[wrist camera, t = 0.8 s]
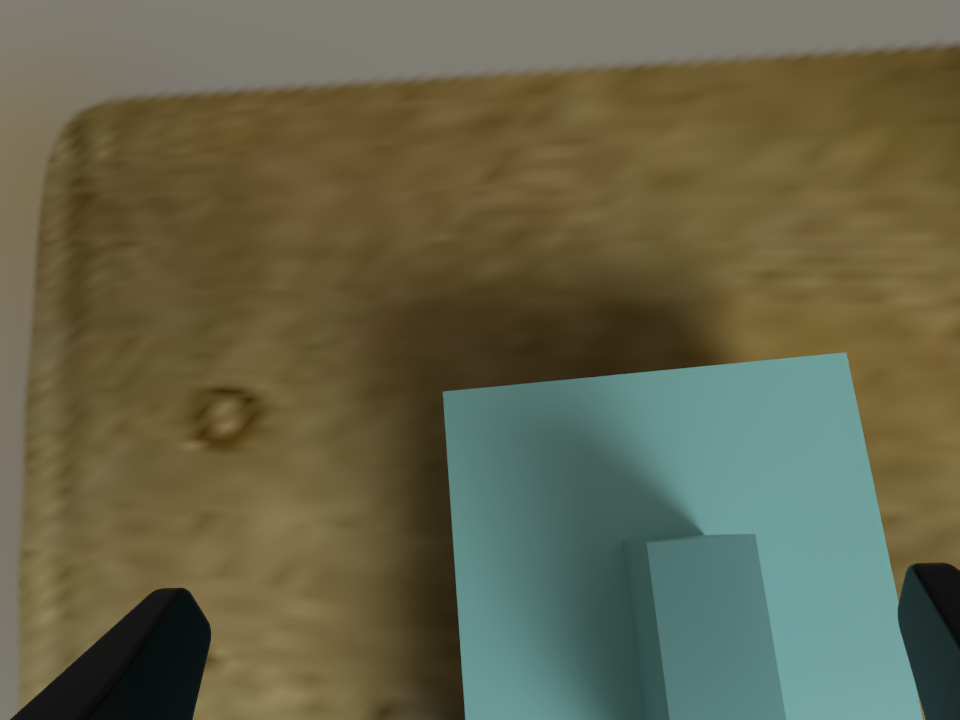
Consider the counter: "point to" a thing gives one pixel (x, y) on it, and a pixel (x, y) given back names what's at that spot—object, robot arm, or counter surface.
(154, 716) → the robot arm
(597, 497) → the lid
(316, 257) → the counter surface
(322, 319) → the counter surface
